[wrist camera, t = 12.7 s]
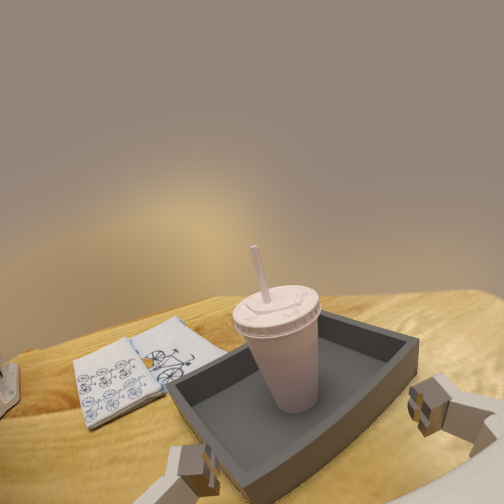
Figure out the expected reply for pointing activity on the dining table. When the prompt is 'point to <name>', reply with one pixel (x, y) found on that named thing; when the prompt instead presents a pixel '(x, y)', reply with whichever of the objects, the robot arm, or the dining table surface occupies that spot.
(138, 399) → the folded bicycle print cloth
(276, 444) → the tray
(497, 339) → the dining table surface
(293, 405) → the smoothie
